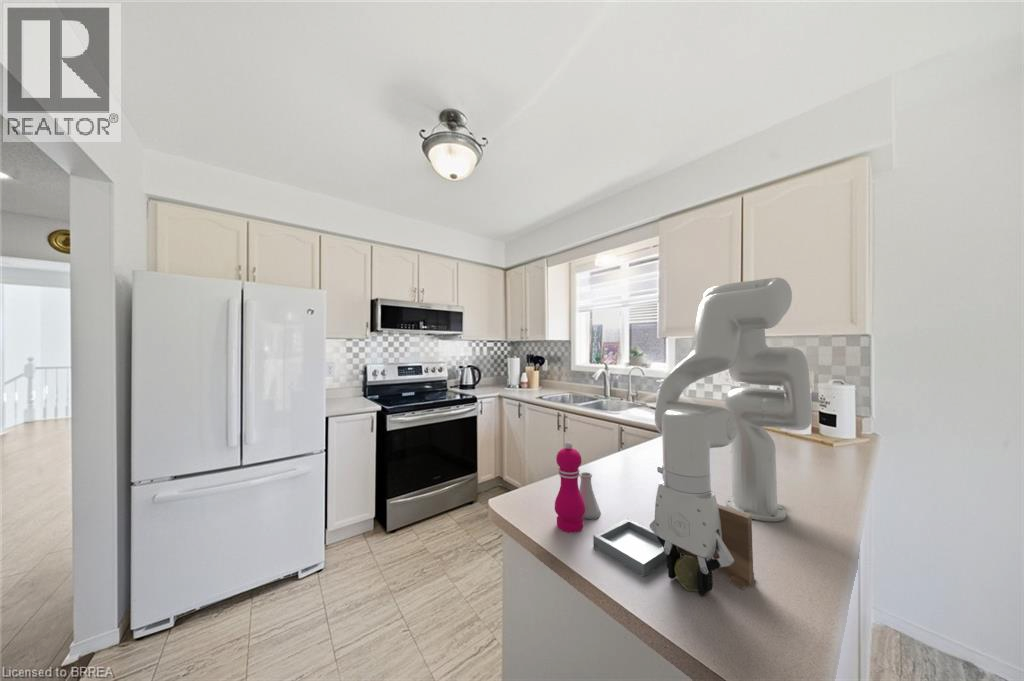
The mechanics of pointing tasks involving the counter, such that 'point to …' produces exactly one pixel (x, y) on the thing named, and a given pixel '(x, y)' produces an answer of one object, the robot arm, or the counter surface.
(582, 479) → the flask
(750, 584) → the walnut board
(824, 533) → the counter surface
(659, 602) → the counter surface
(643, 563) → the slate dish
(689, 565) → the lime
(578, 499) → the pepper mill
